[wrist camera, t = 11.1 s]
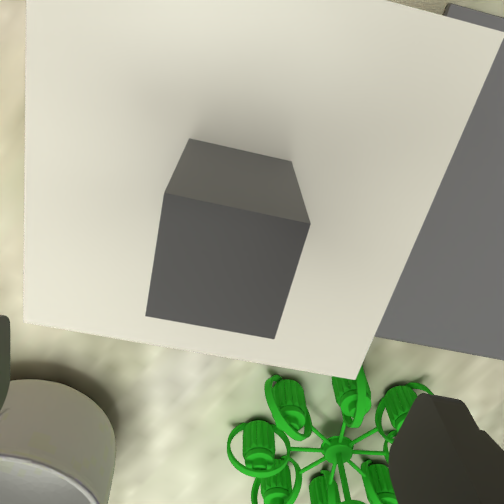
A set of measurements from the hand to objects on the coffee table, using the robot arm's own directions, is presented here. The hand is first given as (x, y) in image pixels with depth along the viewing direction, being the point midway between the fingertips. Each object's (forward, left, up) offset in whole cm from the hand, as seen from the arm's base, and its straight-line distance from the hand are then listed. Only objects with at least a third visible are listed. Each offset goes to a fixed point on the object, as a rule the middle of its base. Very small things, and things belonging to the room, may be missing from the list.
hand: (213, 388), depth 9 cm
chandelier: (-11, +18, -17) cm, 27 cm away
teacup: (+9, +22, -17) cm, 29 cm away
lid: (0, 0, -12) cm, 12 cm away
